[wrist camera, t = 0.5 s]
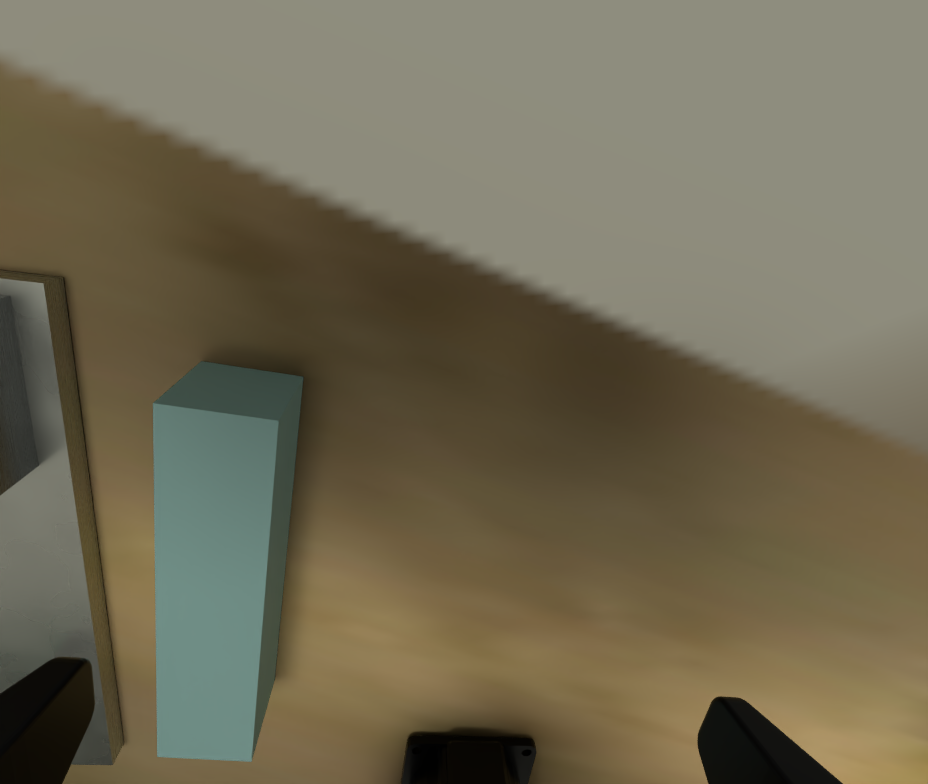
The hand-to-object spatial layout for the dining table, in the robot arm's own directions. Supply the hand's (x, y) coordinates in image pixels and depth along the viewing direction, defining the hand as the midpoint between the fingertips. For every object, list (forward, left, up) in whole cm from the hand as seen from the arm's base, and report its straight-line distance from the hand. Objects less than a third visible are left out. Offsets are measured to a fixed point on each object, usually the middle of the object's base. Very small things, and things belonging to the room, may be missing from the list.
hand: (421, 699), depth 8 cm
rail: (-8, +6, -13) cm, 17 cm away
